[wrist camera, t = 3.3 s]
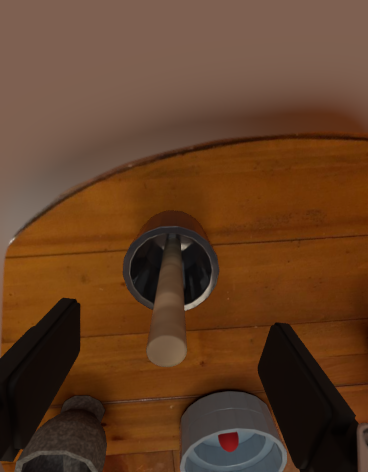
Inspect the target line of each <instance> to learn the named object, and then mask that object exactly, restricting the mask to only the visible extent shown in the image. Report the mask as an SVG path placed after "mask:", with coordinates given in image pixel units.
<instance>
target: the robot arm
mask: <svg viewBox="0 0 368 472" xmlns="http://www.w3.org/2000/svg"><path fill="white" fill-rule="evenodd" d="M79 351H80V303H77V300H76V299H70V298H62V299H61V300H60V301H59V302H58V303H57V304H56V305H55V306H54V307H53V308H52V309H51V310H50V311H49V312H48V313H47V314H46V315H45V316H44V317H43V318H42V319H41V320H40V321H39V322H38V323H37V325H36V326H33V327H31V328H30V329H29V330H28V331H27V332H26V333H25V334H24V335H23V336H22V337H21V338H20V339H19V340H18V341H17V342H16V343H15V344H14V345H13V346H12V347H11V348H10V349H9V350H8V351H7V352H6V353H5V354H4V355H3V356H2V357H1V358H0V461H9V462H13V461H14V459H15V457H16V455H17V454H18V452H19V450H20V449H24V448H25V447H26V446H27V445H28V443H29V442H30V440H31V438H32V436H33V435H34V433H35V431H36V429H37V427H38V426H39V424H40V422H41V420H42V419H43V417H44V415H45V413H46V412H47V410H48V408H49V406H50V404H51V403H52V401H53V399H54V397H55V396H56V394H57V392H58V390H59V388H60V387H61V385H62V383H63V381H64V380H65V378H66V376H67V374H68V373H69V371H70V369H71V367H72V365H73V364H74V362H75V360H76V358H77V357H78V354H79ZM258 374H259V377H260V379H261V382H262V384H263V387H264V390H265V392H266V395H267V397H268V400H269V402H270V405H271V407H272V410H273V413H274V415H275V418H276V420H277V423H278V425H279V428H280V430H281V433H282V435H283V438H284V441H285V443H286V446H287V448H288V451H289V453H290V456H291V458H292V461H293V463H294V465H295V466H296V468H298V469H299V470H300V472H368V423H361V424H358V422H357V421H356V420H355V416H356V415H355V414H354V412H353V411H352V410H351V408H350V407H349V406H348V404H347V403H346V401H345V400H344V399H343V397H342V396H341V395H340V393H339V392H338V390H337V389H336V388H335V386H334V385H333V384H332V382H331V381H330V379H329V378H328V377H327V375H326V374H325V373H324V371H323V370H322V369H321V367H320V366H319V364H318V363H317V362H316V360H315V359H314V358H313V356H312V355H311V353H310V352H309V351H308V349H307V348H306V347H305V345H304V344H303V342H302V341H301V340H300V338H299V337H298V336H297V334H296V333H295V331H294V330H293V329H292V327H291V326H290V325H289V324H286V323H275V324H274V325H272V326H271V328H270V331H269V334H268V337H267V340H266V343H265V346H264V349H263V352H262V355H261V358H260V361H259V364H258Z"/></svg>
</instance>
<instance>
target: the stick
mask: <svg viewBox="0 0 368 472" xmlns="http://www.w3.org/2000/svg"><path fill="white" fill-rule="evenodd" d="M146 353H147V356H148V358H149V360H150V361H151V362H152V363H154V364H156V365H158V366H162V367H171V366H175V365H177V364H179V363H180V362H182V361H183V359H184V358H185V356H186V353H187V342H186V324H185V307H184V289H183V272H182V254H181V243H180V241H179V240H178V239H176V238H169V239H168V240H167V241H166V242H165V246H164V251H163V257H162V263H161V268H160V274H159V280H158V285H157V291H156V297H155V302H154V308H153V314H152V319H151V325H150V331H149V336H148V342H147V348H146Z"/></svg>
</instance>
